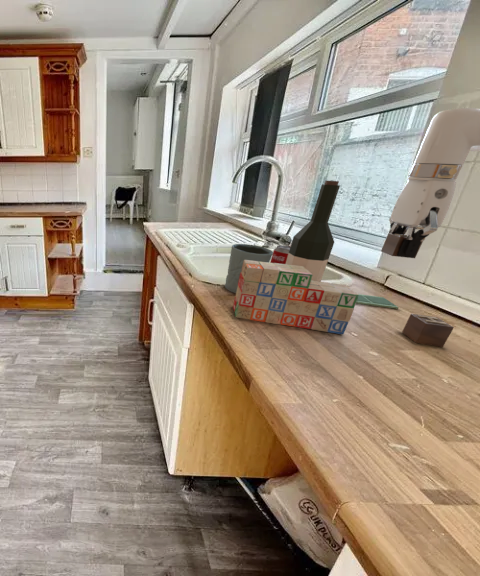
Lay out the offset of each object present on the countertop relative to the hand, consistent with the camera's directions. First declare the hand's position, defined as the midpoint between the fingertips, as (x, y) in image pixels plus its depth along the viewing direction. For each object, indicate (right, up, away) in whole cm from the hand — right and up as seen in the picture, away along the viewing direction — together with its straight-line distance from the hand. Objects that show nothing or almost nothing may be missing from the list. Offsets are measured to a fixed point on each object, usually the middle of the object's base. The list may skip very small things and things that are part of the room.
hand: (398, 253), depth 74 cm
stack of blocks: (-30, -16, -4) cm, 34 cm away
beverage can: (-21, -8, +16) cm, 27 cm away
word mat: (+1, -12, +10) cm, 15 cm away
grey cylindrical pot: (-32, -9, +13) cm, 35 cm away
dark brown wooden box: (-4, -19, -9) cm, 22 cm away
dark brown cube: (0, 0, 0) cm, 0 cm away
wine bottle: (-21, -12, +6) cm, 25 cm away
